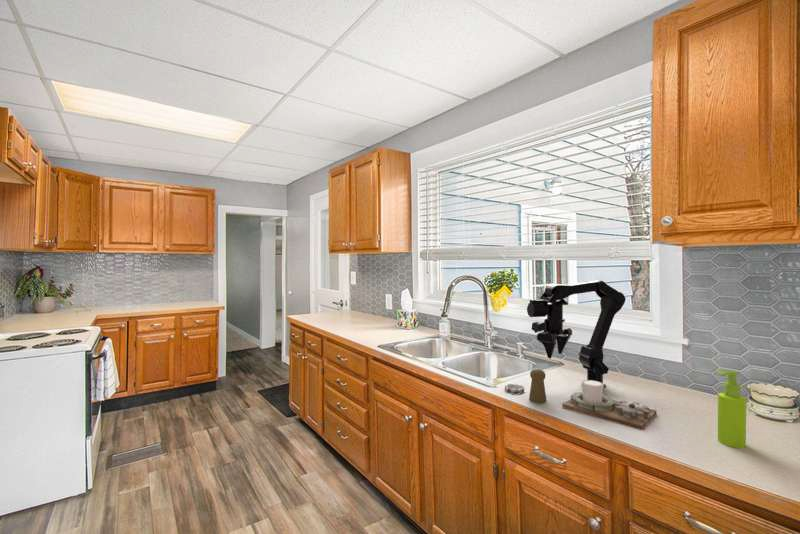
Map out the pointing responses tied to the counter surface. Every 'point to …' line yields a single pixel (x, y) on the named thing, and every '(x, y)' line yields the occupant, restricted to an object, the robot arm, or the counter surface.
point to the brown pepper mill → (537, 387)
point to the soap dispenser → (731, 413)
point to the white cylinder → (592, 391)
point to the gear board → (613, 410)
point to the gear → (514, 388)
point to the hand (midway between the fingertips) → (554, 355)
